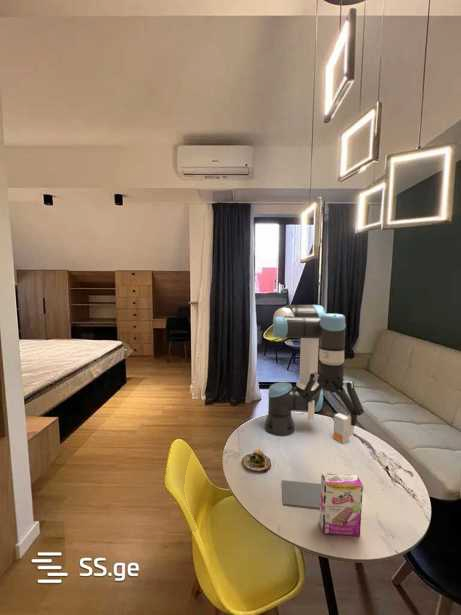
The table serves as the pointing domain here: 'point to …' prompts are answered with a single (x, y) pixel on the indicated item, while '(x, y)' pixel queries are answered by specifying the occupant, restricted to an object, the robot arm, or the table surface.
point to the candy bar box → (340, 504)
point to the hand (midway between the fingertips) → (329, 427)
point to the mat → (301, 494)
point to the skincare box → (341, 428)
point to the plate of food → (257, 461)
